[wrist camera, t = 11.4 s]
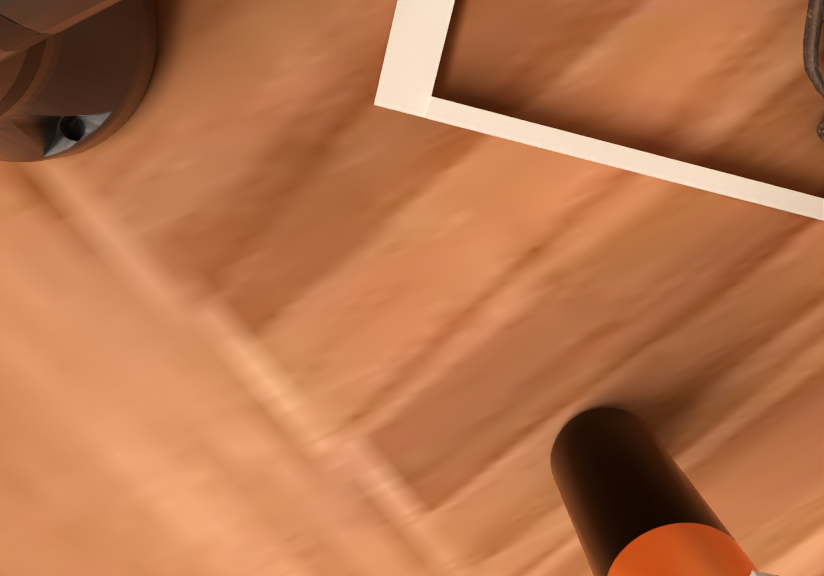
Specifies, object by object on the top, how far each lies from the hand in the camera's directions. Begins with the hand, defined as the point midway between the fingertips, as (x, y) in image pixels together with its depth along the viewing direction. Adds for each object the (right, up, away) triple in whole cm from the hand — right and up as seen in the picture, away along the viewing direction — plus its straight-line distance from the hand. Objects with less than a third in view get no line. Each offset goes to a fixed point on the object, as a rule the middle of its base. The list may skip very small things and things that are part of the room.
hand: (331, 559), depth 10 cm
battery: (+14, -7, +35) cm, 39 cm away
